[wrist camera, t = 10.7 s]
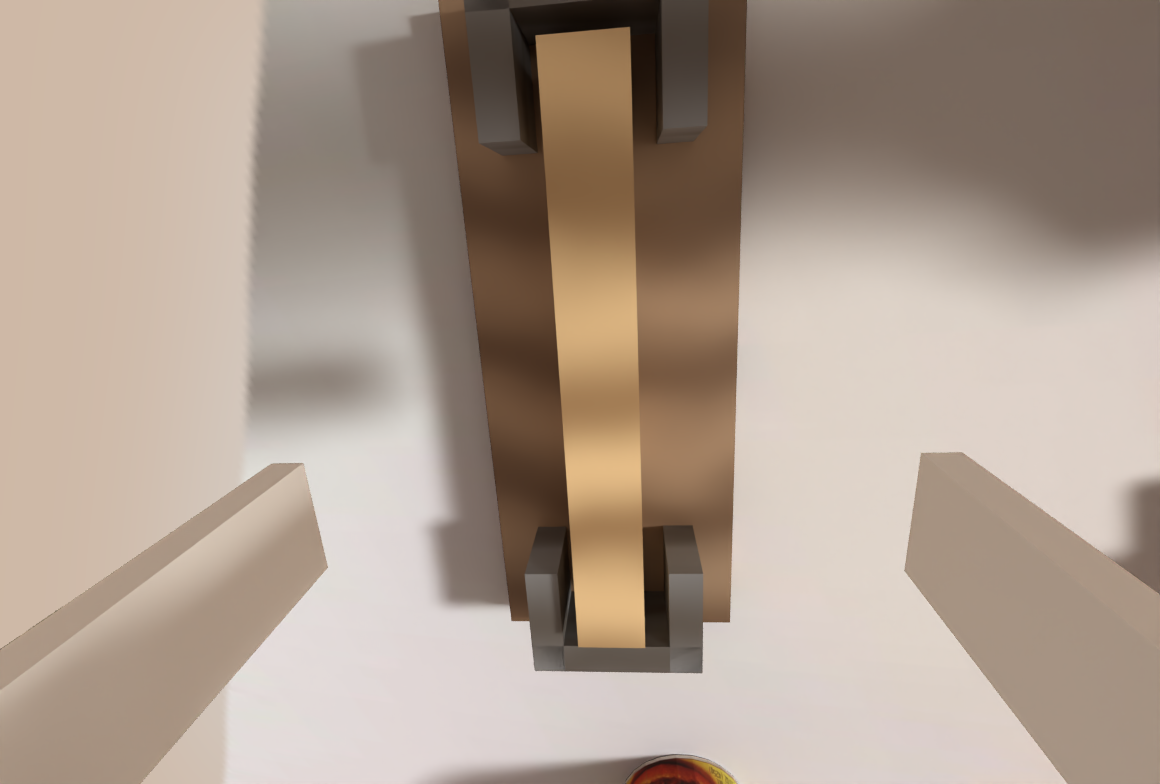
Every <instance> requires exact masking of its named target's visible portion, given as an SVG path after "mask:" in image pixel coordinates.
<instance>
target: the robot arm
mask: <svg viewBox="0 0 1160 784" xmlns="http://www.w3.org/2000/svg"><path fill="white" fill-rule="evenodd" d="M327 568H328V566H327V562H326V557H325V553H324V549H323V545H322V540H321V536H320V532H319V528H318V523H317V519H316V515H315V511H314V506H313V502H312V498H311V494H310V489H309V485H308V481H307V477H306V472H305V468H304V464H303V463H279V464H270V465H269V466H267V467H266V468H264V469H263V470H262V471H260V472H259V473H257V474H256V475H254V476H253V477H251V478H250V479H248V480H247V481H246V482H244V483H243V484H241V485H240V486H238V487H237V488H235V489H234V490H232V491H231V492H229V493H228V494H227V495H225V496H224V497H222V498H221V499H219V500H218V501H216V502H215V503H213V504H212V505H211V506H209V507H208V508H206V509H205V510H203V511H202V512H200V513H199V514H197V515H196V516H194V517H193V518H192V519H190V520H189V521H187V522H186V523H184V524H183V525H182V526H180V527H178V528H177V529H176V530H174V531H173V532H171V533H170V534H168V535H167V536H165V537H164V538H163V539H161V540H159V541H158V542H157V543H155V544H154V545H152V546H151V547H149V548H148V549H146V550H145V551H144V552H142V553H141V554H139V555H138V556H136V557H135V558H133V559H132V560H130V561H129V562H127V563H126V564H124V565H123V566H122V567H120V568H119V569H117V570H116V571H114V572H113V573H111V574H110V575H108V576H107V577H106V578H104V579H103V580H101V581H100V582H98V583H97V584H95V585H94V586H92V587H91V588H89V589H88V590H87V591H85V592H84V593H82V594H81V595H79V596H78V597H76V598H75V599H73V600H72V601H71V602H69V603H68V604H66V605H65V606H63V607H62V608H60V609H58V610H57V611H55V612H54V613H53V614H51V615H50V616H48V617H47V618H45V619H44V620H42V621H41V622H39V623H38V624H36V625H35V626H34V627H32V628H31V629H29V630H28V631H27V632H25V633H24V634H22V635H21V636H19V637H17V638H16V639H15V640H13V641H12V642H10V643H9V644H7V645H6V646H4V647H3V648H1V649H0V784H141V782H142V781H143V780H144V779H145V778H146V777H147V775H148V774H149V773H150V772H151V771H152V770H153V769H154V767H155V766H156V765H157V764H158V763H159V762H160V761H161V759H162V758H163V757H164V756H165V755H166V754H167V752H168V751H169V750H170V749H171V748H172V747H173V745H174V744H175V743H176V742H177V741H178V740H179V739H180V737H181V736H182V735H183V734H184V733H185V732H186V731H187V729H188V728H189V727H190V726H191V725H192V724H193V722H194V721H195V720H196V719H197V718H198V717H199V716H200V714H201V713H202V712H203V711H204V710H205V708H206V707H207V706H208V705H209V704H210V703H211V702H212V701H213V699H214V698H215V697H216V696H217V695H218V693H219V692H220V691H221V690H222V689H223V688H224V687H225V686H226V684H227V683H228V682H229V681H230V680H231V679H232V677H233V676H234V675H235V674H236V673H237V672H238V671H239V669H240V668H241V667H242V666H243V665H244V664H245V663H246V661H247V660H248V659H249V658H250V657H251V656H252V654H253V653H254V652H255V651H256V650H257V649H258V648H259V646H260V645H261V644H262V643H263V642H264V641H265V639H266V638H267V637H268V636H269V635H270V634H271V633H272V631H273V630H274V629H275V628H276V627H277V626H278V624H279V623H280V622H281V621H282V620H283V619H284V618H285V616H286V615H287V614H288V613H289V612H290V611H291V609H292V608H293V607H294V606H295V605H296V604H297V603H298V601H299V600H300V599H301V598H302V597H303V596H304V594H305V593H306V592H307V591H308V590H309V589H310V588H311V586H312V585H313V584H314V583H315V582H316V581H317V579H318V578H319V577H320V576H321V575H322V574H323V573H324V571H325V570H326V569H327ZM904 571H905V572H906V573H907V575H908V576H909V577H910V579H911V580H912V581H913V582H914V584H915V585H916V586H917V588H918V589H919V590H920V592H921V593H922V594H923V595H924V597H925V598H926V599H927V601H928V602H929V603H930V605H931V606H932V607H933V609H934V610H935V611H936V612H937V614H938V615H939V616H940V618H941V619H942V620H943V622H944V623H945V624H946V626H947V627H948V628H949V629H950V631H951V632H952V633H953V635H954V636H955V637H956V639H957V640H958V641H959V643H960V644H961V645H962V646H963V648H964V649H965V650H966V652H967V653H968V654H969V656H970V657H971V658H972V659H973V661H974V662H975V663H976V665H977V666H978V667H979V669H980V670H981V671H982V673H983V674H984V675H985V676H986V678H987V679H988V680H989V682H990V683H991V684H992V686H993V687H994V688H995V690H996V691H997V692H998V693H999V695H1000V696H1001V697H1002V699H1003V700H1004V701H1005V703H1006V704H1007V705H1008V706H1009V708H1010V709H1011V710H1012V712H1013V713H1014V714H1015V716H1016V717H1017V718H1018V720H1019V721H1020V722H1021V723H1022V725H1023V726H1024V727H1025V729H1026V730H1027V731H1028V733H1029V734H1030V735H1031V737H1032V738H1033V739H1034V740H1035V742H1036V743H1037V744H1038V746H1039V747H1040V748H1041V750H1042V751H1043V752H1044V754H1045V755H1046V756H1047V757H1048V759H1049V760H1050V761H1051V763H1052V764H1053V765H1054V767H1055V768H1056V769H1057V770H1058V772H1059V773H1060V774H1061V776H1062V777H1063V778H1064V780H1065V781H1066V782H1067V784H1160V594H1159V593H1157V592H1156V591H1154V590H1153V589H1152V588H1150V587H1149V586H1148V585H1146V584H1145V583H1143V582H1142V581H1141V580H1139V579H1138V578H1136V577H1135V576H1134V575H1132V574H1131V573H1129V572H1128V571H1127V570H1125V569H1124V568H1122V567H1121V566H1120V565H1118V564H1117V563H1115V562H1114V561H1113V560H1111V559H1110V558H1109V557H1107V556H1106V555H1104V554H1103V553H1102V552H1100V551H1099V550H1097V549H1096V548H1095V547H1093V546H1092V545H1090V544H1089V543H1088V542H1086V541H1085V540H1083V539H1082V538H1081V537H1079V536H1078V535H1076V534H1075V533H1074V532H1072V531H1071V530H1070V529H1068V528H1067V527H1065V526H1064V525H1063V524H1061V523H1060V522H1058V521H1057V520H1056V519H1054V518H1053V517H1051V516H1050V515H1049V514H1047V513H1046V512H1044V511H1043V510H1042V509H1040V508H1039V507H1038V506H1036V505H1035V504H1033V503H1032V502H1031V501H1029V500H1028V499H1026V498H1025V497H1024V496H1022V495H1021V494H1019V493H1018V492H1017V491H1015V490H1014V489H1012V488H1011V487H1010V486H1008V485H1007V484H1005V483H1004V482H1003V481H1001V480H1000V479H999V478H997V477H996V476H994V475H993V474H992V473H990V472H989V471H987V470H986V469H985V468H983V467H982V466H980V465H979V464H978V463H976V462H975V461H973V460H972V459H971V458H969V457H968V456H966V455H965V454H964V453H962V452H954V453H921V457H920V465H919V472H918V479H917V486H916V493H915V500H914V507H913V514H912V521H911V528H910V535H909V542H908V549H907V556H906V563H905V570H904Z"/></svg>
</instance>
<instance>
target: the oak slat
mask: <svg viewBox="0 0 1160 784" xmlns="http://www.w3.org/2000/svg"><path fill="white" fill-rule="evenodd" d="M535 36H536V50H537V64H538V79H539V93H540V107H541V121H542V136H543V150H544V164H545V179H546V193H547V207H548V221H549V236H550V250H551V264H552V279H553V293H554V307H555V321H556V336H557V350H558V364H559V378H560V393H561V407H562V421H563V436H564V450H565V464H566V478H567V493H568V507H569V521H570V536H571V550H572V564H573V578H574V593H575V607H576V621H577V635H578V647H597V648H645V616H644V575H643V534H642V493H641V453H640V412H639V371H638V330H637V290H636V249H635V208H634V167H633V126H632V86H631V45H630V27H623V28H612V29H601V30H590V31H579V32H568V33H557V34H546V35H535Z"/></svg>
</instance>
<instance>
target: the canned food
mask: <svg viewBox="0 0 1160 784" xmlns="http://www.w3.org/2000/svg"><path fill="white" fill-rule="evenodd" d="M625 784H738V783H737V781H736V780H735V778H734V777H733V776H732V775H731V774H730V773H729V772H728V771H726V770H725V769H724V768H723V767H722V766H720V765H718V764H716V763H714V762H711V761H709V760H707V759H703V758H699V757H695V756H689V755H671V756H664V757H659V758H656V759H653V760H651V761H648V762H646V763H644V764H643V765H641V766H640V767H638V768H637V769H635V770H634V771H633V773H632V774H631V775H630V776H629V777H628V779H627V780H626V782H625Z"/></svg>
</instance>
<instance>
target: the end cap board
mask: <svg viewBox="0 0 1160 784" xmlns="http://www.w3.org/2000/svg"><path fill="white" fill-rule="evenodd" d="M438 2H439V10H440V19H441V27H442V36H443V44H444V53H445V61H446V70H447V78H448V86H449V95H450V103H451V112H452V120H453V129H454V137H455V146H456V154H457V163H458V171H459V180H460V188H461V196H462V205H463V213H464V222H465V230H466V239H467V247H468V256H469V264H470V273H471V281H472V290H473V298H474V306H475V315H476V323H477V332H478V340H479V349H480V357H481V366H482V374H483V383H484V391H485V400H486V408H487V416H488V425H489V433H490V442H491V450H492V459H493V467H494V476H495V484H496V493H497V501H498V510H499V518H500V526H501V535H502V543H503V552H504V560H505V569H506V577H507V586H508V594H509V603H510V611H511V620H512V621H530V630H531V639H532V649H533V658H534V667H535V671H583V672H652V673H702V655H703V622H730V597H731V561H732V524H733V488H734V451H735V415H736V378H737V342H738V305H739V269H740V232H741V195H742V159H743V122H744V86H745V49H746V13H747V0H438ZM623 27H630V45H631V86H632V126H633V167H634V208H635V249H636V290H637V330H638V371H639V412H640V453H641V493H642V534H643V575H644V616H645V648H597V647H578V635H577V621H576V607H575V593H574V578H573V564H572V550H571V536H570V521H569V507H568V493H567V478H566V464H565V450H564V436H563V421H562V407H561V393H560V378H559V364H558V350H557V336H556V321H555V307H554V293H553V279H552V264H551V250H550V236H549V221H548V207H547V193H546V179H545V164H544V150H543V136H542V121H541V107H540V93H539V79H538V64H537V50H536V36H535V35H546V34H557V33H568V32H579V31H590V30H601V29H612V28H623Z"/></svg>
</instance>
